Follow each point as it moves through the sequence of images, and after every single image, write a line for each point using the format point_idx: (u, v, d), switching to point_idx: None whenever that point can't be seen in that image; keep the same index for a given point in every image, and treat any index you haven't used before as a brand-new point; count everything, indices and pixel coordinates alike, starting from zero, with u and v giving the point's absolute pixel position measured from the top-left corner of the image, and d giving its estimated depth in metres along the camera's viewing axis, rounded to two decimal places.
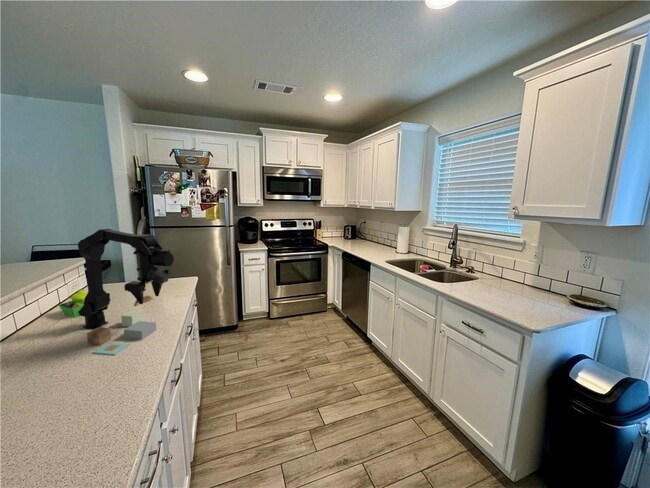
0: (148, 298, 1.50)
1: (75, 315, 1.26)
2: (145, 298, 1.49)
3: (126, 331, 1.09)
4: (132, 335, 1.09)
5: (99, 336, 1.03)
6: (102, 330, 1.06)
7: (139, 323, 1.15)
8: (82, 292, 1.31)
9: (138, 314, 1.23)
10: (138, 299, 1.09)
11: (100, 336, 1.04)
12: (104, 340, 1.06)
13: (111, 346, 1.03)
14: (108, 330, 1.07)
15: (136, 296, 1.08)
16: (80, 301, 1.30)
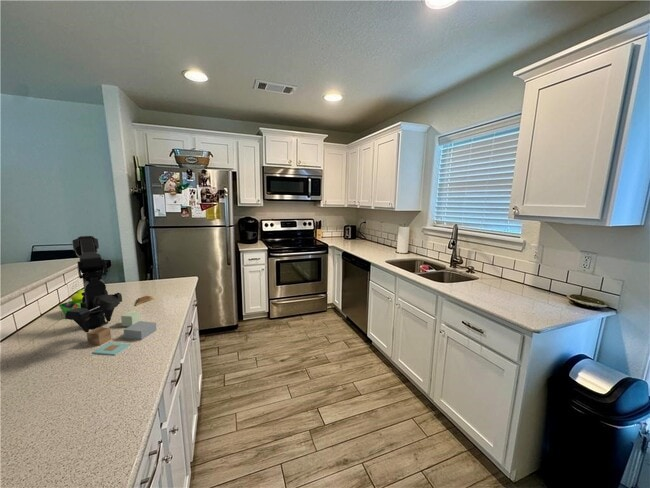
0: (148, 298, 1.50)
1: None
2: (145, 298, 1.49)
3: (126, 331, 1.09)
4: (132, 335, 1.09)
5: (99, 336, 1.03)
6: (102, 330, 1.06)
7: (139, 323, 1.15)
8: (82, 292, 1.31)
9: (138, 314, 1.23)
10: (83, 327, 1.00)
11: (100, 336, 1.04)
12: (104, 340, 1.06)
13: (111, 346, 1.03)
14: (108, 330, 1.07)
15: (80, 324, 0.99)
16: (80, 301, 1.30)
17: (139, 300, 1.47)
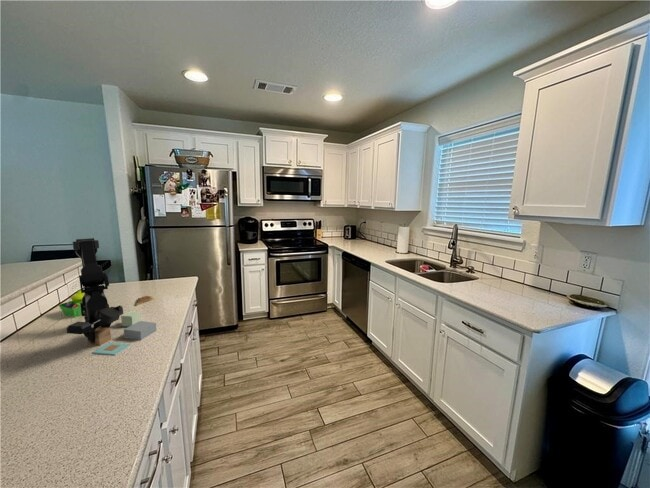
0: (148, 298, 1.50)
1: (75, 315, 1.26)
2: (145, 298, 1.49)
3: (126, 331, 1.10)
4: (132, 335, 1.09)
5: (99, 336, 1.03)
6: (102, 330, 1.06)
7: (140, 323, 1.15)
8: None
9: (138, 314, 1.23)
10: (89, 338, 1.02)
11: (100, 336, 1.04)
12: (104, 340, 1.06)
13: (111, 346, 1.03)
14: (108, 330, 1.07)
15: (87, 335, 1.02)
16: (80, 301, 1.30)
17: (139, 300, 1.47)
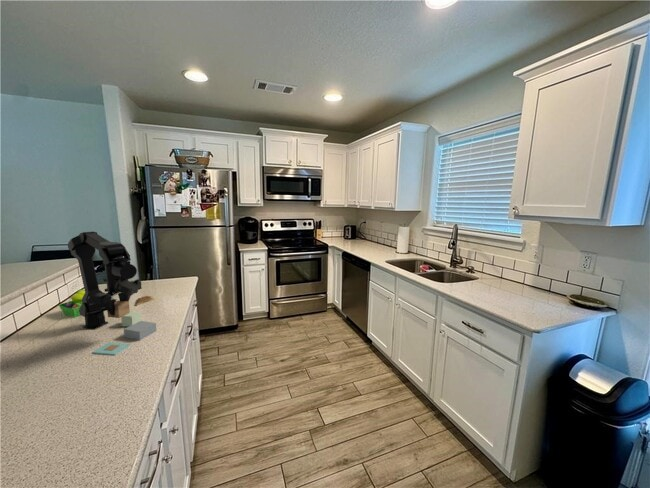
0: (148, 298, 1.50)
1: (75, 315, 1.26)
2: (145, 298, 1.49)
3: (126, 331, 1.10)
4: (131, 335, 1.09)
5: (118, 308, 1.05)
6: (121, 303, 1.07)
7: (140, 323, 1.15)
8: (82, 292, 1.31)
9: (138, 314, 1.23)
10: (109, 310, 1.04)
11: (119, 308, 1.05)
12: (123, 313, 1.07)
13: (111, 346, 1.03)
14: (127, 303, 1.09)
15: (107, 307, 1.04)
16: (80, 301, 1.30)
17: (139, 300, 1.47)
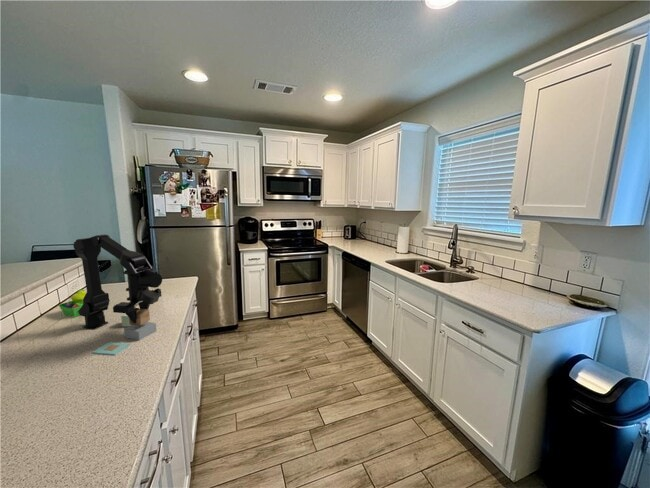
0: None
1: (75, 315, 1.26)
2: None
3: (126, 330, 1.10)
4: (131, 335, 1.09)
5: (140, 316, 1.10)
6: (142, 311, 1.12)
7: None
8: (82, 292, 1.31)
9: None
10: (131, 318, 1.09)
11: (141, 316, 1.10)
12: (144, 320, 1.12)
13: (111, 346, 1.03)
14: (147, 311, 1.13)
15: (129, 315, 1.08)
16: (80, 301, 1.30)
17: None
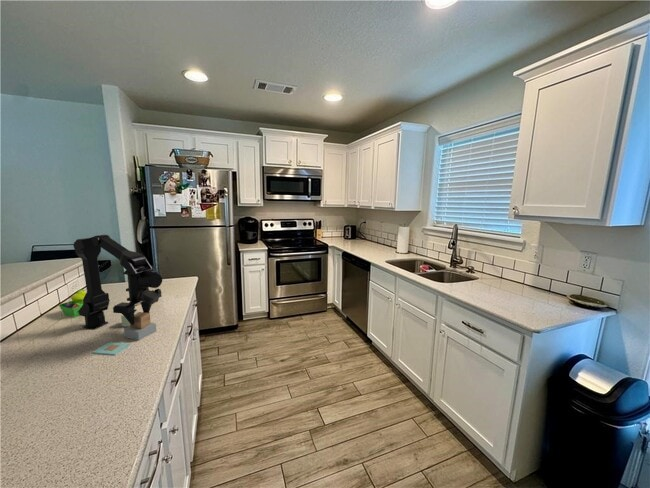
0: None
1: (75, 315, 1.26)
2: None
3: (126, 330, 1.10)
4: (131, 335, 1.09)
5: (141, 320, 1.10)
6: (143, 314, 1.12)
7: None
8: (82, 292, 1.31)
9: None
10: (129, 320, 1.07)
11: (142, 320, 1.10)
12: (145, 324, 1.12)
13: (111, 346, 1.03)
14: (148, 315, 1.14)
15: (127, 317, 1.07)
16: (80, 301, 1.30)
17: None
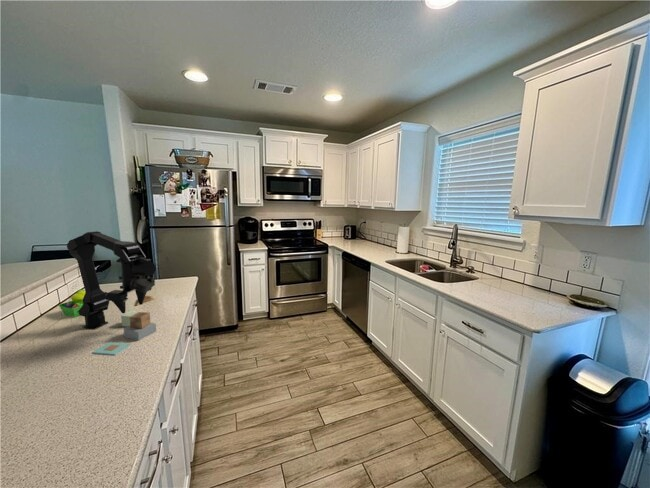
0: (148, 298, 1.50)
1: (75, 315, 1.26)
2: (145, 298, 1.49)
3: (125, 330, 1.10)
4: (130, 335, 1.09)
5: (141, 320, 1.10)
6: (143, 314, 1.12)
7: None
8: (82, 292, 1.31)
9: None
10: (120, 308, 1.07)
11: (142, 320, 1.11)
12: (145, 324, 1.12)
13: (111, 346, 1.03)
14: (148, 314, 1.14)
15: (118, 305, 1.07)
16: (80, 301, 1.30)
17: None
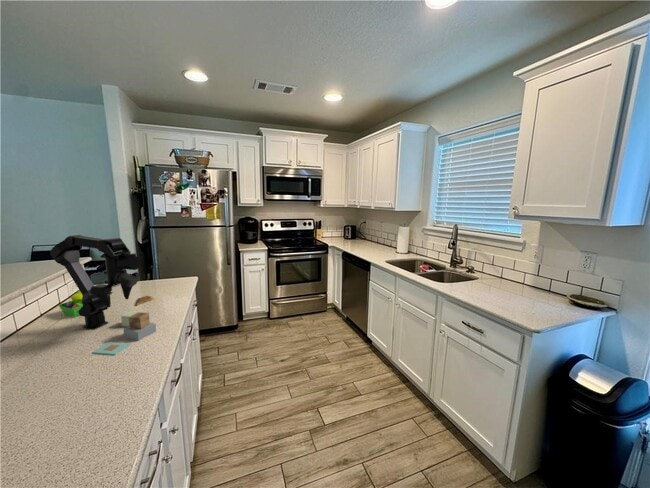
0: (148, 298, 1.50)
1: (75, 315, 1.26)
2: (145, 298, 1.49)
3: (125, 330, 1.10)
4: (130, 335, 1.09)
5: (140, 320, 1.10)
6: (142, 314, 1.12)
7: None
8: None
9: None
10: (105, 302, 1.10)
11: (141, 320, 1.10)
12: (144, 324, 1.12)
13: (111, 346, 1.03)
14: (147, 315, 1.14)
15: (103, 299, 1.09)
16: (80, 301, 1.30)
17: (139, 300, 1.47)
